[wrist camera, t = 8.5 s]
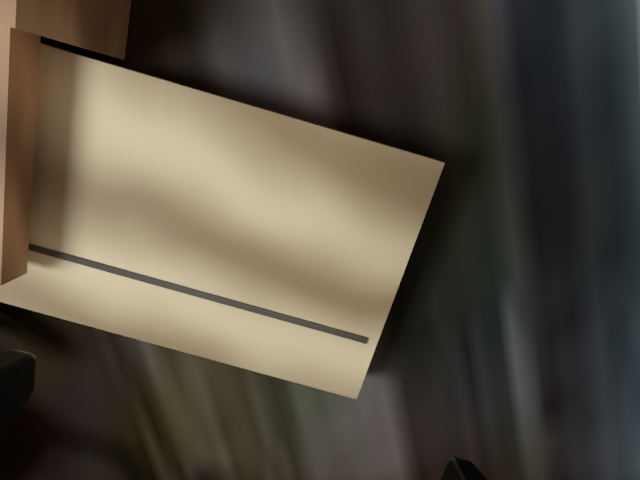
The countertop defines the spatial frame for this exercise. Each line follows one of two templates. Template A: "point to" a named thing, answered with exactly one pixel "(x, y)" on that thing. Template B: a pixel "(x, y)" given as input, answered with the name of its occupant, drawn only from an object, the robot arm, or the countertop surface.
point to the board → (215, 224)
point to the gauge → (21, 97)
